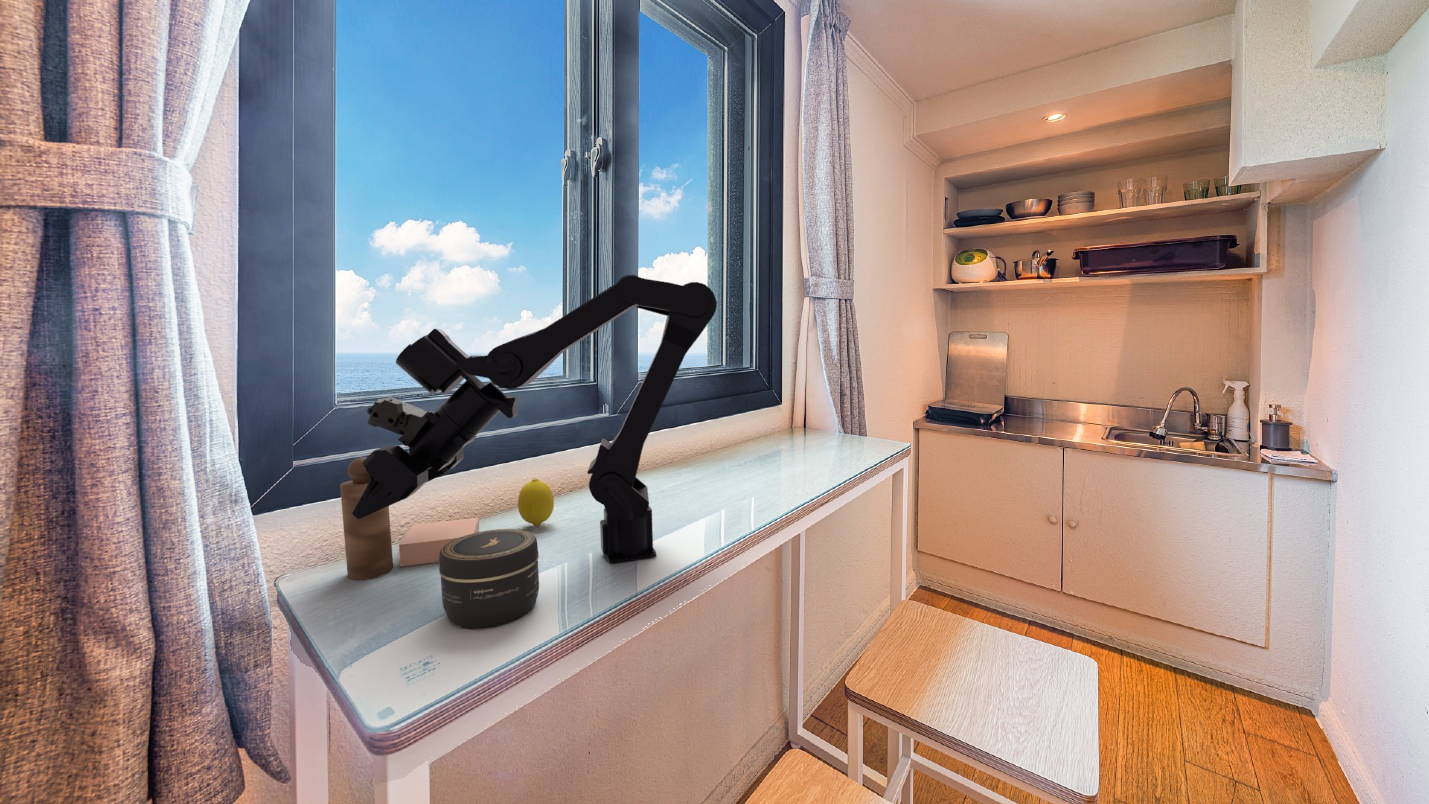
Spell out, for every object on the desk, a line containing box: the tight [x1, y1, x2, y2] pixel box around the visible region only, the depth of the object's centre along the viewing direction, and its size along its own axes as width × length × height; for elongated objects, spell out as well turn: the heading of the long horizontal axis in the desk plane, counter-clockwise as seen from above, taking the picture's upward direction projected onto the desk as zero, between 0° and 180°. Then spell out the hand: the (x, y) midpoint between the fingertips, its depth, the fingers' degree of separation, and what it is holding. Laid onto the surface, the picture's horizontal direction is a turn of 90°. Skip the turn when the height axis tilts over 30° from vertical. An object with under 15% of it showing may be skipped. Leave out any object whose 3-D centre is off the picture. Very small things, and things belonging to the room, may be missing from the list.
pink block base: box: [398, 517, 480, 568], centre depth 76 cm, size 9×9×3 cm
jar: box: [438, 528, 540, 630], centre depth 58 cm, size 10×10×8 cm
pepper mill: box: [339, 456, 394, 581], centre depth 68 cm, size 5×5×15 cm
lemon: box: [517, 478, 555, 528], centre depth 86 cm, size 6×6×8 cm
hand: (373, 505), depth 68 cm, fingers open, 9 cm apart
